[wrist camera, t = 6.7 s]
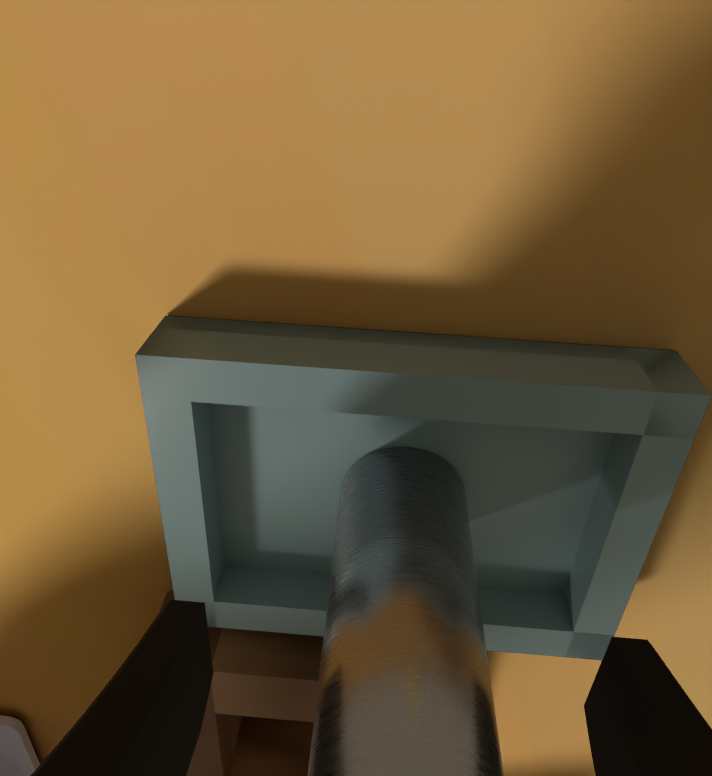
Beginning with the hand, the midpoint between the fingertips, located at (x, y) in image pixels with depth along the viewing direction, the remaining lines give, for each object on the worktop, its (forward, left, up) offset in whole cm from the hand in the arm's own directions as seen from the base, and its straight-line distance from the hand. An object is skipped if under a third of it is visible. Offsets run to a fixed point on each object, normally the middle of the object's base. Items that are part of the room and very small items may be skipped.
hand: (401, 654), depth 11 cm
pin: (0, 0, -4) cm, 4 cm away
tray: (0, 0, -5) cm, 5 cm away
